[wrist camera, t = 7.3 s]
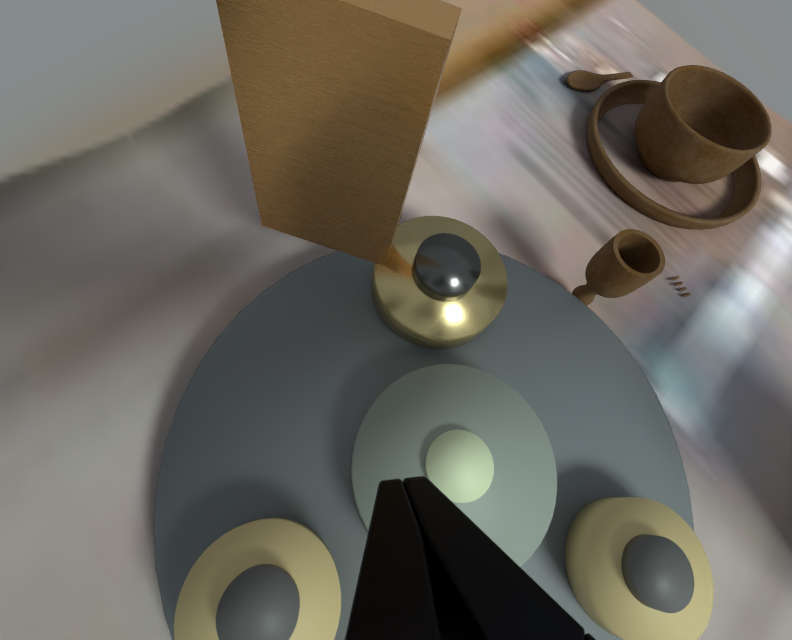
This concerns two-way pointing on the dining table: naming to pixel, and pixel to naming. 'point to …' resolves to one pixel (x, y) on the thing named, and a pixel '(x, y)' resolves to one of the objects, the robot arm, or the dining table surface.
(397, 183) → the wooden slab
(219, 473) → the plate
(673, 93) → the place setting
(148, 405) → the dining table surface
